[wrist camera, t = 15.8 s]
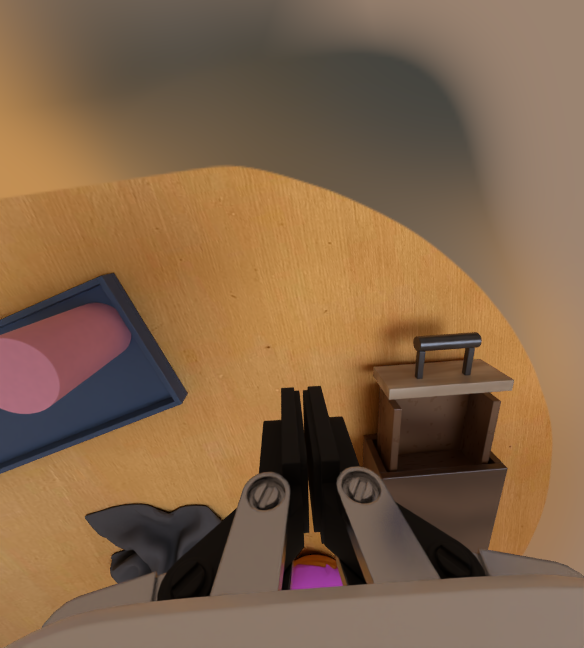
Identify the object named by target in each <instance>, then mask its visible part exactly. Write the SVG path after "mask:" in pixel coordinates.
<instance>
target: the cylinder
mask: <svg viewBox="0 0 584 648" xmlns="http://www.w3.org/2000/svg"><path fill="white" fill-rule="evenodd" d="M130 341H131V332H130V331H129V329H128V328H127V326H126V324H125V323H124V321H123V320H122V318H121V317H120V315H119V313H118V312H117V310H116V309H115V308H113V307H111V306H109V305H106V304H103V303H88V304H85V305H82V306H79V307H77V308H74V309H71V310H68V311H66V312H63V313H60V314H57V315H54V316H52V317H49V318H46V319H43V320H41V321H38V322H35V323H32V324H30V325H27V326H24V327H21V328H18V329H16V330H13V331H10V332H7V333H5V334H2V335H0V408H1V409H3V410H6V411H9V412H13V413H19V414H32V413H37V412H41V411H43V410H45V409H47V408H49V407H50V406H51V405H53V404H54V403H55V402H57V401H58V400H59V399H61V398H62V397H63V396H65V395H66V394H67V393H69V392H70V391H71V390H73V389H74V388H75V387H77V386H78V385H79V384H81V383H82V382H83V381H85V380H86V379H87V378H89V377H90V376H91V375H93V374H94V373H95V372H97V371H98V370H99V369H101V368H102V367H103V366H105V365H106V364H107V363H109V362H110V361H111V360H113V359H114V358H115V357H117V356H118V355H119V354H121V353H122V352H123V351H125V350H126V348H127V347H128V346H129V344H130Z"/></svg>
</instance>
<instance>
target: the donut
mask: <svg viewBox="0 0 584 648" xmlns="http://www.w3.org/2000/svg"><path fill="white" fill-rule="evenodd" d="M335 586H343V584H342V581H341V577H340V574H339V571H338V568H337V564H336V561H335V560H334V559H332V558H330V557H327V556H322V555H307V556H304V557H301V558H299V559H297V560H296V561H294V572H293V584H292V590H295V589H309V588H322V587H335Z"/></svg>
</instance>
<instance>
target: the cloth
mask: <svg viewBox="0 0 584 648" xmlns="http://www.w3.org/2000/svg"><path fill="white" fill-rule="evenodd" d="M85 519H86V520H87V521H88V523H89V524H90V525H91V526H92V528H93V529H94V530H95V531H96V532H97V533H98V534H99V535H100V536H102V537H105V538H107V539H108V540H109V541H111V542H112V543H113V544H114V545H116V546H118V547H120V548H122V549H124V550H123V551H120V552H117V553H115V554H113V555H112V557H111V559H112V563H111V567H110V573H111V576H112V578H113V579H114V580H115V581H116V582H117V583H121V582H124V581H127V580H130V579H133V578H137V577H140V576H143V575H146V574H149V573H152V572H155V571H156V572H157V575H160V574H163V573H166V572H167V571H168V570H169V569H170V568H171V567H172V566H173V564H174V563H175V562H176V561H177V560H179V559H180V558H181V557H182V556H183V555H184V554H185V553H186V552H188V551H189V550H190V549H191V548H192V547H193V546H194V545H196V544H197V543H198V542H199V541H200V540H201V539H202V538H203V537H205V536H206V535H207V534H208V533H209V532H210V531H211V530H212V529H214V528H215V527H216V526H217V525H218V524H219V523H220V522H222V520H221V519H219V518H218V517H217V516H216V515H215V514H214V513H213V512H212V511H211V510H210V509H209V508H208V507H205V506H197V505H190V506H184V507H181V508H179V509H177V510H175V511H173V512H171V513H169V514H168V513H166V512H163V511H161V510H158V509H156V508H154V507H151V506H149V505H145V504H129V505H121V506H116V507H112V508H109V509H105V510H102V511H99V512H95V513H92V514H89V515H86V516H85Z"/></svg>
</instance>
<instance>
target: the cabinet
mask: <svg viewBox="0 0 584 648" xmlns="http://www.w3.org/2000/svg"><path fill="white" fill-rule="evenodd" d="M363 467H364V468H367V469H369V470H372V471H373V472H375V473H376V474H377V475H378V476H379V477H380V478H381V479H382V481H383V482H384V484H385V485H386V487H387V489H388V491H389V492H390V494H391V496H392V497H393V499H394V501H395V502H397V503H398V504H400V505H401V506H403V507H405V508H406V509H408V510H409V511H411V512H413V513H414V514H416V515H417V516H419V517H421V518H422V519H424V520H425V521H427V522H429V523H430V524H432V525H433V526H435V527H437V528H438V529H440V530H441V531H443V532H445V533H446V534H448V535H449V536H451V537H452V538H454V539H456V540H457V541H459V542H460V543H462V544H463V545H464V546H466V547H467V548H468V549H469V550H470V551H472V552H478V548H480V549H486V550H488V547H489V543H490V539H491V535H492V530H493V526H494V522H495V518H496V514H497V510H498V506H499V502H500V497H501V493H502V489H503V485H504V481H505V477H506V473H507V467H506V466H505V465H504V464H503V463H502V462H501V461H500V460H499V459H498V458H497V457H496V456H495V455H494V454H493V453H492V452H491V451H490V456H489V461H488V464H481V465H469V466H457V467H445V468H433V469H421V470H409V471H397V472H386V470H385V468H384V466H383V463H382V461H381V459H380V457H379V455H378V452H377V434H375V435H364V444H363Z"/></svg>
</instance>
